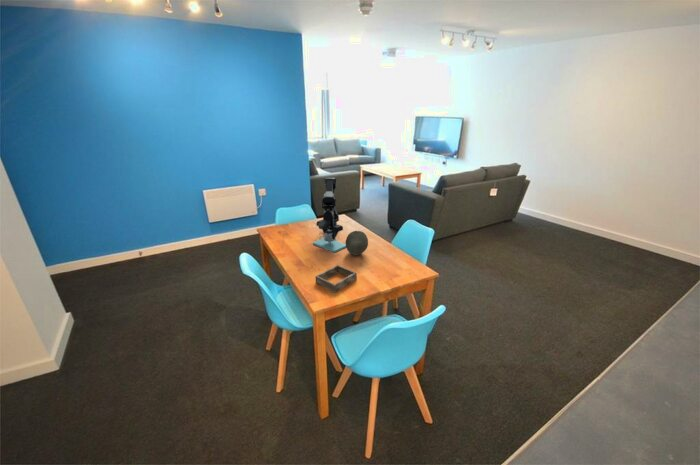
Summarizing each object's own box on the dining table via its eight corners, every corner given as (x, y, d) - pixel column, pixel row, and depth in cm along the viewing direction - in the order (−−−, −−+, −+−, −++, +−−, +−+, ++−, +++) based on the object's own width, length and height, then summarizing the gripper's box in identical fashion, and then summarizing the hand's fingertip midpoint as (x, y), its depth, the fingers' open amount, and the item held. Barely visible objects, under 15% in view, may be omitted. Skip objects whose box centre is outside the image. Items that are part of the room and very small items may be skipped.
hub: (329, 236, 200) (329, 229, 198) (337, 239, 196) (337, 232, 194) (322, 239, 195) (321, 232, 193) (329, 242, 191) (329, 235, 189)
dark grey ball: (341, 256, 181) (340, 233, 176) (351, 247, 193) (351, 226, 187) (362, 261, 175) (362, 238, 170) (372, 252, 187) (372, 229, 181)
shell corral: (337, 271, 165) (337, 264, 163) (356, 279, 157) (356, 272, 155) (315, 283, 153) (315, 276, 152) (334, 292, 145) (334, 285, 144)
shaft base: (325, 238, 207) (325, 231, 205) (347, 246, 195) (347, 239, 193) (312, 244, 199) (312, 236, 197) (334, 252, 186) (334, 245, 185)
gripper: (309, 215, 189) (310, 238, 195) (330, 222, 178) (331, 245, 184) (322, 211, 197) (323, 233, 203) (343, 217, 186) (343, 240, 191)
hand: (329, 238), depth 195 cm, fingers closed on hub, 7 cm apart
